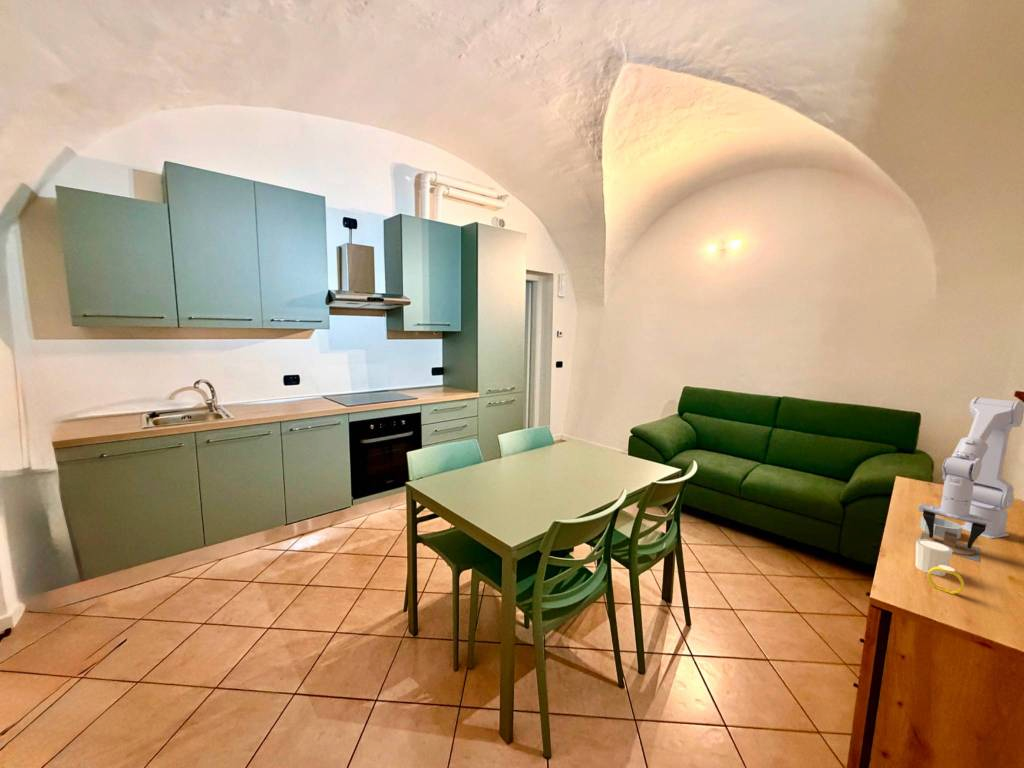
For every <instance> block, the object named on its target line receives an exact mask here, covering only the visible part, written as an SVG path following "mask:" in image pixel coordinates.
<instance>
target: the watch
mask: <svg viewBox="0 0 1024 768" xmlns="http://www.w3.org/2000/svg"><path fill="white" fill-rule="evenodd" d="M935 570H941V571H943V572H946V574H951V575H954V576H955V577H956V578H958V580H959V583H960V587H959V588H958V589H955V590H954V589H953V590H951V589H948V588H945V587H942V586H938V585H937V584H936V583H934V581H933V579H932V578H931V575H932V574H931V572H933V571H935ZM927 581H928V583H929V584H930V585H931V586H932V587H933V589H935V590H938V591H942V592H945V593H948V594H950V595H955V594H960V593H961V592H962V591H963V590H964V588H965V586H964V585H965V581H964V579H963V577H962V576H961V575H960V574H959V573H958V572H957V571H956V569H955V568H953V567H950V566H949V565H948V566H945V565H939V566H938V567H933V568H932V569H930V570H929V572H928V573H927Z"/></svg>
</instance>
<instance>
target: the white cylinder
mask: <svg viewBox="0 0 1024 768" xmlns="http://www.w3.org/2000/svg"><path fill="white" fill-rule="evenodd" d="M952 552H953V550H952V549H951V548H950V547H948V546H946V545H944V544H941V543H938V542H934V541H931V540H925V539H920V538H918V539H916V540H915V568H916V569H918V570H920V571H921V570H922V571H921V572H924V573H926V572H927V573H926V574H928V572H929V570H930V569H932V568H933V567H938V566H939V565H945V566H949V564H950V561H951V558H952V555H953V554H952ZM932 574H934V575H933V576H937V575H938V577H944V576H946V574H947V573H946V572H943V571H941V570H935V571H933V572H931V574H930V575H932Z"/></svg>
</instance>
